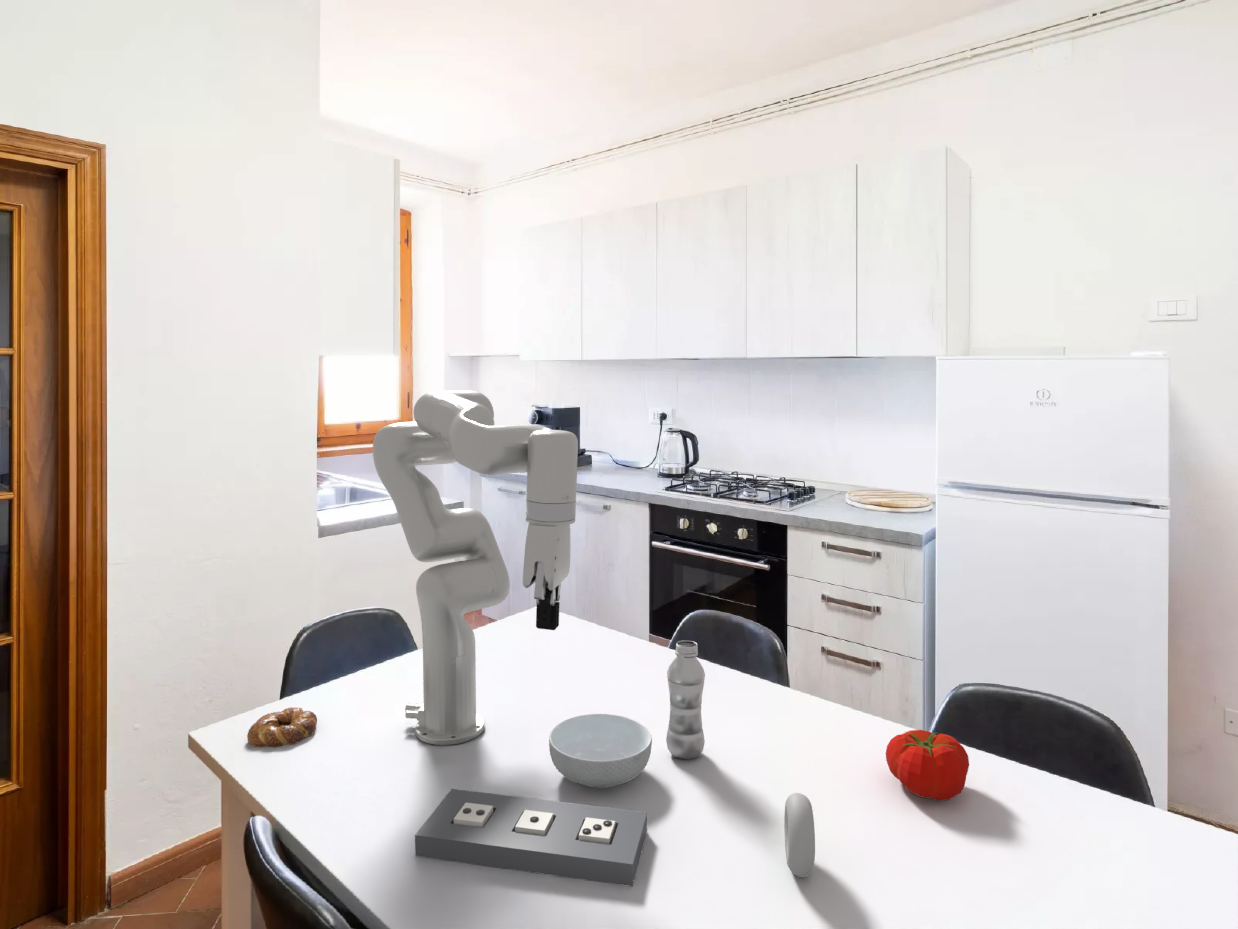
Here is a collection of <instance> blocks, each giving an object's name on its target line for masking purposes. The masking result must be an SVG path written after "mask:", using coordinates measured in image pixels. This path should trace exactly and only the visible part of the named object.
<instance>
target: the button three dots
mask: <svg viewBox="0 0 1238 929" xmlns="http://www.w3.org/2000/svg"><path fill="white" fill-rule="evenodd" d="M614 835H615V821H611V820H603V819H595V818H587V817H586V819H585V821H584V823H583V826H582V828H581V831H580V833H579V840H581V841H589V842H596V843H604V844H612V841H613V838H614Z"/></svg>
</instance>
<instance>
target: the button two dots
mask: <svg viewBox="0 0 1238 929" xmlns="http://www.w3.org/2000/svg"><path fill="white" fill-rule="evenodd" d="M492 814H493V806H490V805H482V804H474V803H465V804H464V805H463V807H462V808H461V810H460V811H459V812H458V814H457V815H456V816H455V818H454V824H458V825H466V826H473V827H481V828H484V827H485V825H486V824H487V822H488V821H489V819H490V817H491V816H492Z"/></svg>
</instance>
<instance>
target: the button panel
mask: <svg viewBox="0 0 1238 929" xmlns="http://www.w3.org/2000/svg"><path fill="white" fill-rule="evenodd" d="M465 803H474V804H482V805H490V806H493V814H492V816H491V817H490V819H489V821H488V822H487V824H486V825H485V827H484V828H481V827H473V826H466V825H458V824H454V818H455V816H456V815H457V814H458V812H459V811H460V810H461V808H462V807H463V805H464V804H465ZM524 810H530V811H539V812H547V813H553V824H552V826H551V828H550V830H549V832H548V834H547V836H543V835H535V834H527V833H520V832H515V826H516V824H517V823H518V821H519V819H520V817H521V816H522V814H523V812H524ZM586 817H587V818H595V819H603V820H611V821H615V835H614V838H613V841H612V844H604V843H596V842H589V841H581V840H579V833H580V831H581V828H582V826H583V823H584V821H585V819H586ZM647 833H648V812H647V811H640V810H632V809H631V810H630V809H624V808H616V807H615V808H614V807H609V806H607V807H606V806H598V805H592V804H591V805H590V804H583V803H574V802H566V801H565V802H564V801H557V800H549V799H540V798H532V797H525V796H524V797H523V796H515V795H508V794H499V793H490V792H481V791H476V790H475V791H473V790H467V789H466V790H465V789H458V788H451V789H450V790H449V791H448V793H447V794H446V795H445V797H444V798H443V799H442V800H441V802H439V804H438V805H437V807H435V809H434V811H433V812H432V813H431V814H430V815H429V816H428V818H427V819H426V821H424V823H423V824H422V825H421V827H420V828H419V829H418V830H417V832H415V834H414V856H415V857H419V858H420V857H421V858H426V859H433V860H440V861H442V860H443V861H448V862H454V863H455V862H457V863H463V864H471V865H476V866H483V867H484V866H485V867H492V868H497V869H498V868H500V869H505V870H511V871H513V870H514V871H521V872H527V873H536V874H541V875H547V876H549V875H550V876H553V877H554V876H555V877H562V878H571V879H576V880H577V879H578V880H583V881H591V882H596V883H597V882H598V883H606V884H612V885H619V886H626V887H633V885H634V881H635V877H636V875H637V870H638V866H639V863H640V859H641V855H642V852H643V847H644V844H645V841H646V837H647Z"/></svg>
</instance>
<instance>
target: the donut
mask: <svg viewBox="0 0 1238 929" xmlns="http://www.w3.org/2000/svg"><path fill="white" fill-rule="evenodd" d="M783 816H784V823H783V824H784V825H783V826H784V828H783V829H784V850H785V860H786V864H787V867H788V869H789V871H790V872H791V873H792V874H793V875H795V876H796V877H799V878H800V877H801V878H802V877H804V878H805V877H806V876H807V877H808V876H809V875H810V874H811V873H812V871H813V869H814V866H815V860H816V858H815V857H816V833H815V821H814V820H815V819H814V811H813V806H812V802H811V801H810V799H809V798H808V796H807V795H804V794H803V793H801V792H793V793H791V794H789V795H788V796H787V798H786V800H785V803H784V815H783Z"/></svg>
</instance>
